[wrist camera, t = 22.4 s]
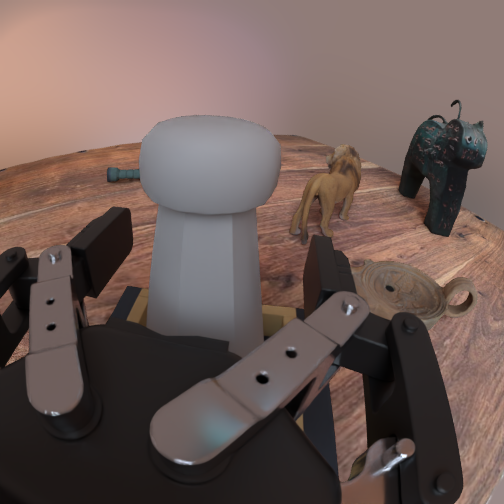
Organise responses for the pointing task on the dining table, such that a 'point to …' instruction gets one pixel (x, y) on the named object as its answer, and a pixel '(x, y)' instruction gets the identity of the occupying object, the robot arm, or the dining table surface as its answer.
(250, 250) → the salt shaker
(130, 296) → the pad
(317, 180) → the lion figurine
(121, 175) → the knife
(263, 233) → the dining table surface
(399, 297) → the oil lamp
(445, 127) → the ceramic cat
